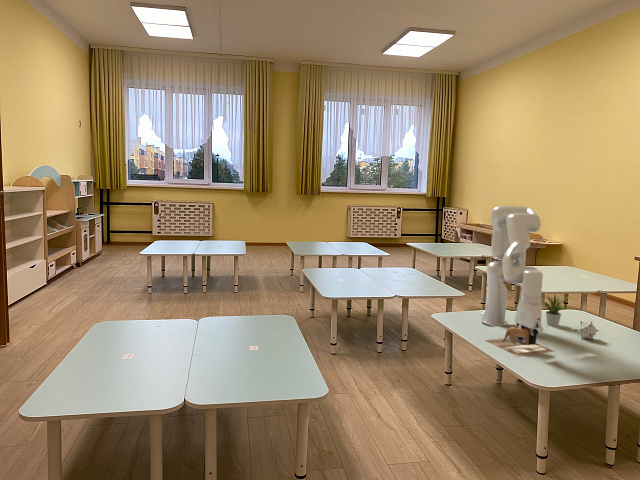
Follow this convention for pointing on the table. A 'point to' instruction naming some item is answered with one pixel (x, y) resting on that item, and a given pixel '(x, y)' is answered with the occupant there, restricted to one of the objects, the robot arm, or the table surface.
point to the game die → (586, 330)
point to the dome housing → (518, 340)
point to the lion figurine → (518, 334)
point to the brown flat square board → (519, 347)
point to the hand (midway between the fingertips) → (526, 341)
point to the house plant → (553, 311)
